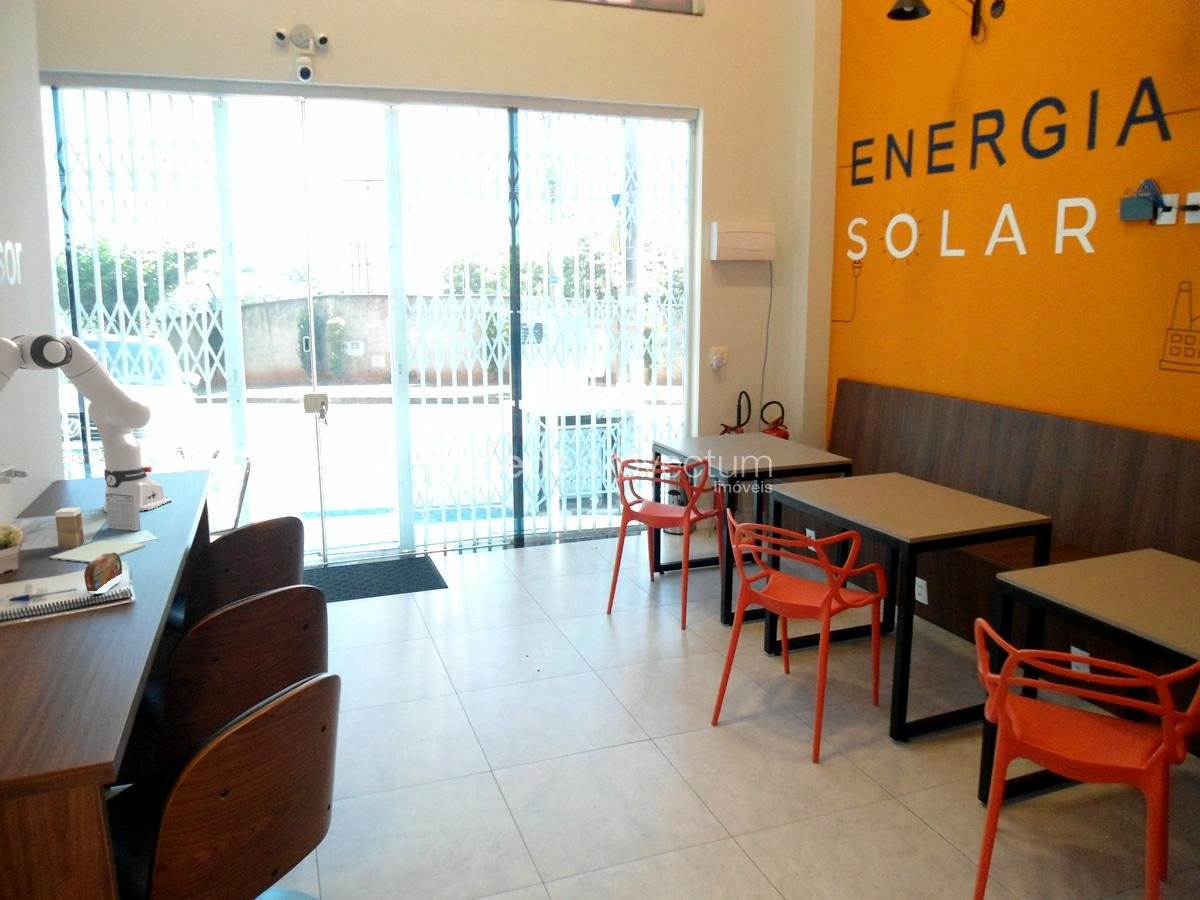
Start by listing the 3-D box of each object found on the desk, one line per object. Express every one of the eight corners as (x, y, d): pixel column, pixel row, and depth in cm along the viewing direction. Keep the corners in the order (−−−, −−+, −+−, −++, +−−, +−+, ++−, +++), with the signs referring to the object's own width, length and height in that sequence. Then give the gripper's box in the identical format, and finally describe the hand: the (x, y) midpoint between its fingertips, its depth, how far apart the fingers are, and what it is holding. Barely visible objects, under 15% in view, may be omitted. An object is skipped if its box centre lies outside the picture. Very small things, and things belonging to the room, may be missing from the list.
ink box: (141, 530, 282) (138, 494, 280) (135, 531, 280) (132, 495, 278) (113, 526, 285) (110, 491, 283) (107, 528, 283) (104, 493, 281)
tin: (97, 599, 219) (94, 566, 217) (83, 599, 219) (80, 566, 217) (124, 579, 234) (121, 548, 232) (111, 579, 233) (109, 548, 232)
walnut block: (66, 543, 266) (62, 507, 264) (84, 543, 266) (80, 507, 264) (58, 548, 261) (55, 512, 259) (77, 548, 261) (73, 511, 260)
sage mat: (101, 541, 268) (101, 540, 268) (145, 546, 263) (145, 544, 263) (49, 558, 251) (49, 556, 251) (95, 563, 246) (95, 561, 246)
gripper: (-55, 472, 245) (1, 472, 247) (-17, 460, 265) (34, 460, 267) (-53, 495, 246) (2, 494, 248) (-15, 481, 266) (36, 481, 268)
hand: (19, 476), depth 258 cm, fingers open, 8 cm apart
